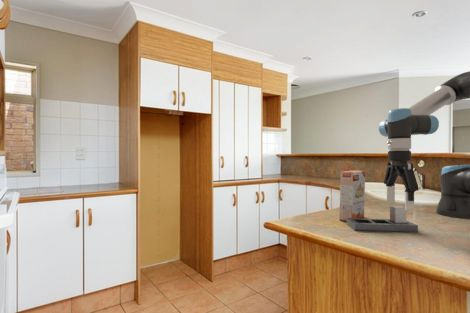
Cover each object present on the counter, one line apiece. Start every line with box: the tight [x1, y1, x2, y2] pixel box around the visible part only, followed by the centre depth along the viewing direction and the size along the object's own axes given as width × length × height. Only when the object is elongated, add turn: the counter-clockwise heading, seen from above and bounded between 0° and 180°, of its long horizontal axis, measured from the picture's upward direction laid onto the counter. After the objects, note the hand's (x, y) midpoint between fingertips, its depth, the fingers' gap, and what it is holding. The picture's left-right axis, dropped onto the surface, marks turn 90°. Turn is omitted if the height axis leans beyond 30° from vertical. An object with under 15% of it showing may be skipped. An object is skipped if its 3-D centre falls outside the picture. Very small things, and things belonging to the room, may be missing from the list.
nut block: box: [389, 205, 408, 224], centre depth 102 cm, size 4×4×8 cm
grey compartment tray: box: [346, 217, 419, 233], centre depth 103 cm, size 22×9×2 cm, turn 85°
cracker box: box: [338, 170, 366, 222], centre depth 118 cm, size 14×6×21 cm, turn 136°
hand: (399, 206), depth 102 cm, fingers open, 13 cm apart
